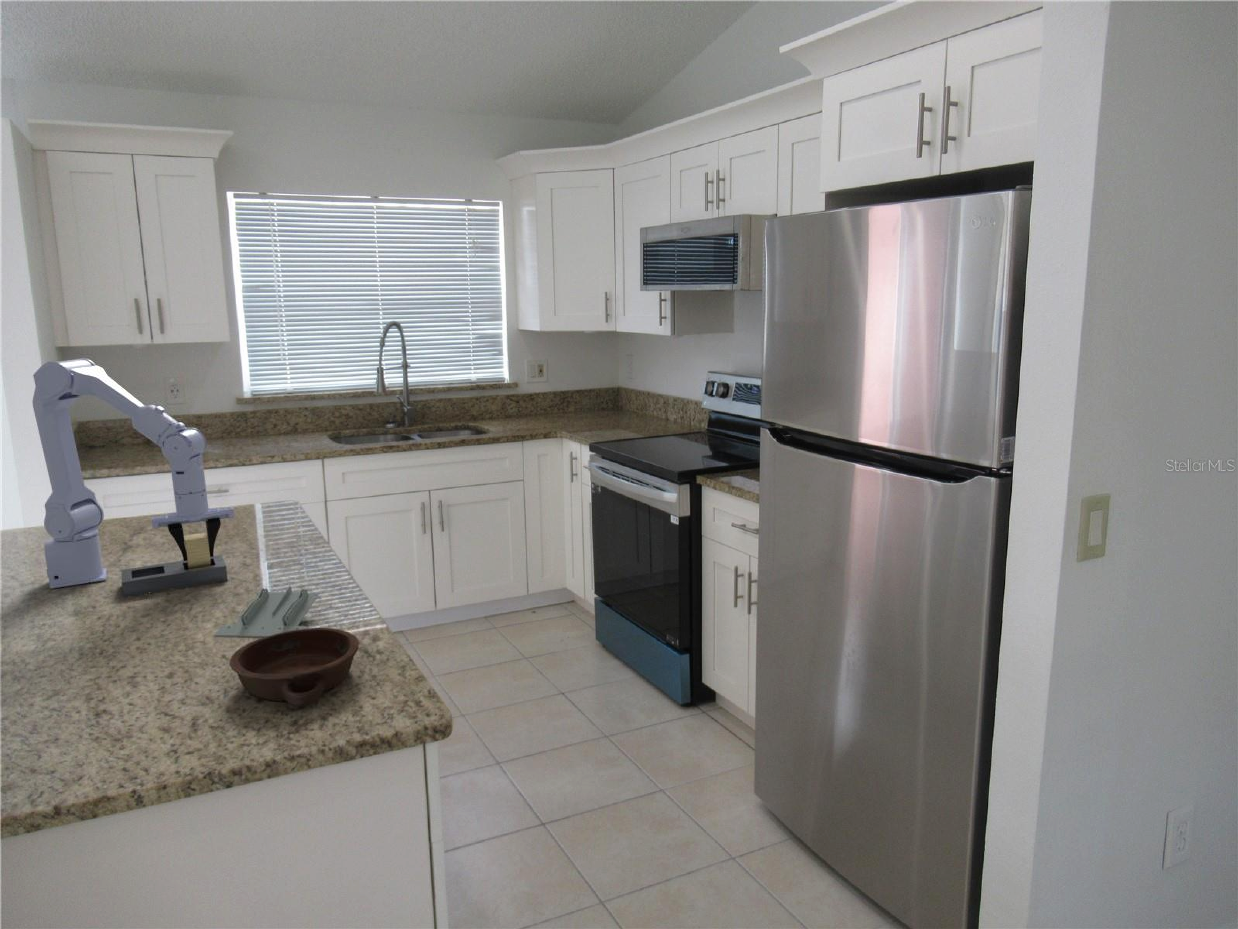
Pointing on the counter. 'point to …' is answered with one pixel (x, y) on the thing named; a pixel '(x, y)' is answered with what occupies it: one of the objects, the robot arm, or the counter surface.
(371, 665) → the counter surface
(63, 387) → the robot arm
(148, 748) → the counter surface
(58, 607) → the counter surface
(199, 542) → the brass peg
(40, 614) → the counter surface
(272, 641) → the dish
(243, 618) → the metal bracket
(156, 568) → the grey slotted block
